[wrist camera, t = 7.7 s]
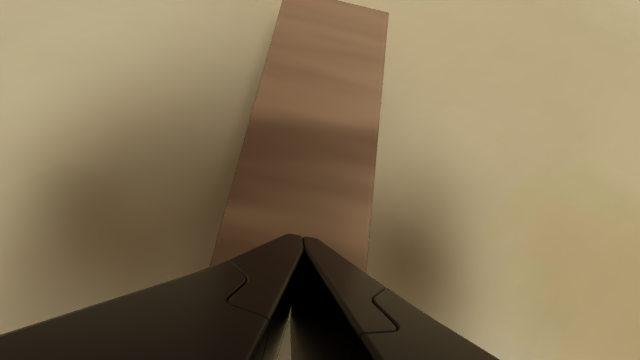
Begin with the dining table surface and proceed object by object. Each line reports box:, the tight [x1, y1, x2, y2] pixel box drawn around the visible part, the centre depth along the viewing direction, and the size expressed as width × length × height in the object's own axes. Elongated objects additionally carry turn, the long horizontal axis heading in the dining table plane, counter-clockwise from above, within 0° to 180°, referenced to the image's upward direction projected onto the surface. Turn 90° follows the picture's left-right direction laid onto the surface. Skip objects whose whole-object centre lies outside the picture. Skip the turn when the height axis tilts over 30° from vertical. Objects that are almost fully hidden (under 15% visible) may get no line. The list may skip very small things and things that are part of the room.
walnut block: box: [210, 0, 389, 321], centre depth 16 cm, size 5×5×14 cm
